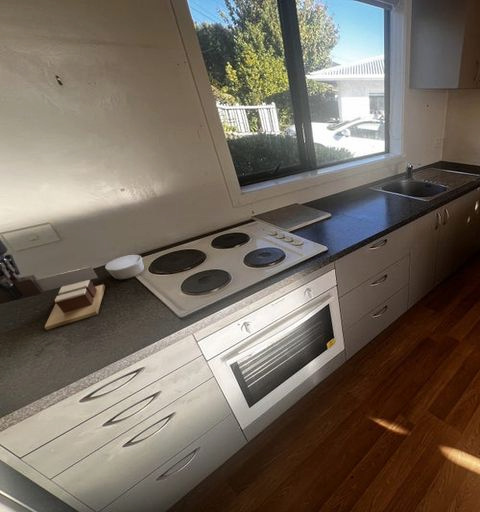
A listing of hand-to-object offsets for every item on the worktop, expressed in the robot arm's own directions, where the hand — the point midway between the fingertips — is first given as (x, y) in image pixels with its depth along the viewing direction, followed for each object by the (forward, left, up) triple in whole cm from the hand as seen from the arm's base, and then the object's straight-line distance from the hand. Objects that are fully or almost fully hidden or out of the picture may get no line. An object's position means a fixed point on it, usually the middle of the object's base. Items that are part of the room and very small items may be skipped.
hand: (19, 295), depth 80 cm
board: (+5, +11, -14) cm, 19 cm away
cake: (+6, +14, -13) cm, 20 cm away
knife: (+6, 0, -1) cm, 6 cm away
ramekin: (+18, +26, -14) cm, 35 cm away
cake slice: (+6, +9, -13) cm, 17 cm away
